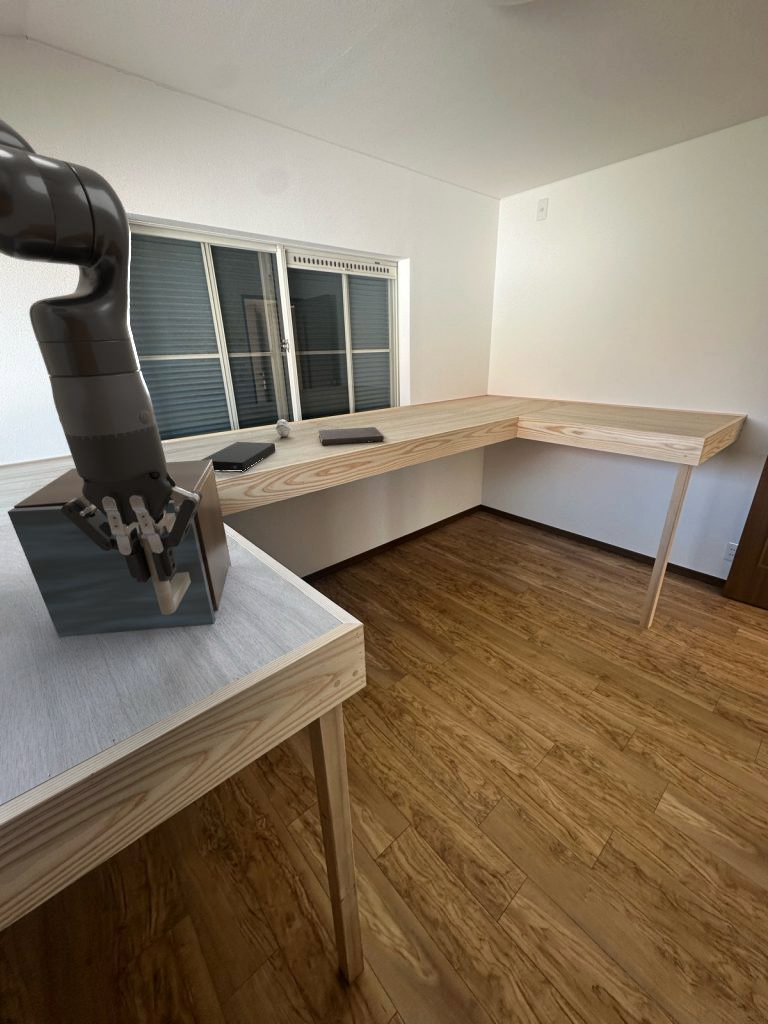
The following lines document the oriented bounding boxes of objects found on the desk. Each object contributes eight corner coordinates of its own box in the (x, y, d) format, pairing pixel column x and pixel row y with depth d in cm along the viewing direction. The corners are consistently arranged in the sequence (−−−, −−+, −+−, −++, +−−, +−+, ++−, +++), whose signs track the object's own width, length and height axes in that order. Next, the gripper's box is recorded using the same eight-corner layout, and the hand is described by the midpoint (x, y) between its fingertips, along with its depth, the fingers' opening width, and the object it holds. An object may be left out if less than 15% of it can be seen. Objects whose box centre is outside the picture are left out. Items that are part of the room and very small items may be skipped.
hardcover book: (318, 436, 166) (318, 430, 165) (375, 432, 170) (375, 426, 169) (322, 445, 151) (321, 439, 151) (383, 441, 156) (383, 435, 155)
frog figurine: (274, 438, 162) (272, 421, 159) (279, 434, 168) (277, 417, 166) (289, 438, 162) (288, 421, 159) (294, 434, 168) (292, 417, 165)
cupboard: (219, 619, 61) (193, 492, 53) (66, 639, 57) (13, 506, 49) (231, 567, 74) (212, 459, 66) (108, 581, 70) (71, 468, 62)
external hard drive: (275, 451, 145) (274, 443, 144) (243, 472, 124) (242, 462, 123) (237, 450, 147) (236, 441, 146) (200, 470, 126) (198, 460, 125)
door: (202, 667, 52) (167, 526, 44) (28, 684, 50) (-41, 538, 42) (217, 627, 59) (189, 499, 51) (66, 640, 57) (12, 508, 49)
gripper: (199, 413, 43) (227, 557, 50) (59, 417, 42) (109, 564, 49) (171, 429, 36) (209, 594, 43) (4, 435, 35) (71, 602, 42)
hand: (156, 577), depth 46 cm, fingers closed on door, 2 cm apart
